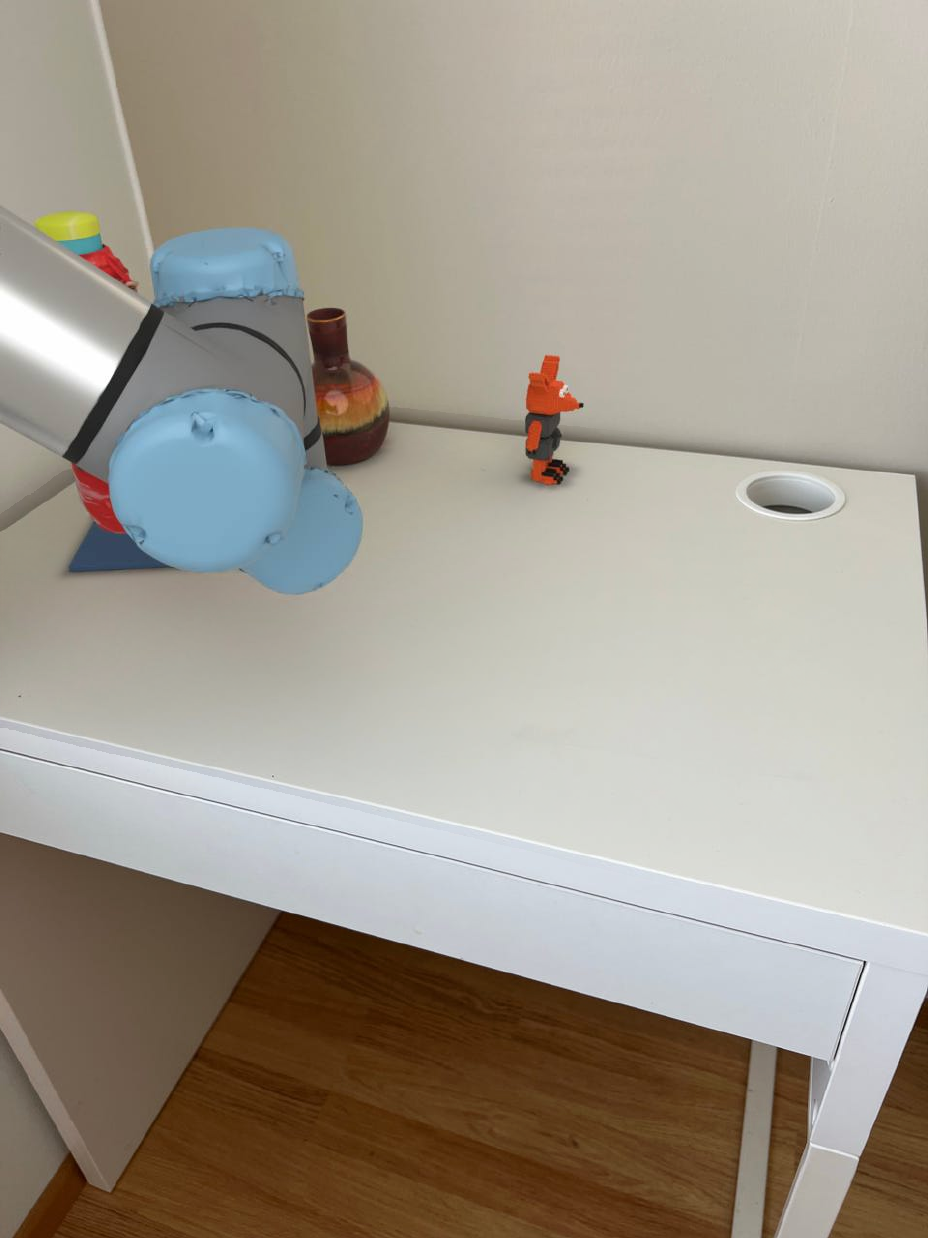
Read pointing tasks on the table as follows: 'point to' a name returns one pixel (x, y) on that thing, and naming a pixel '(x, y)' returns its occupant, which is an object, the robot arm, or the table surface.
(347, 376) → the vase
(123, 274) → the water bottle
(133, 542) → the blue mat
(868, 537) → the table surface
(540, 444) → the toy animal
